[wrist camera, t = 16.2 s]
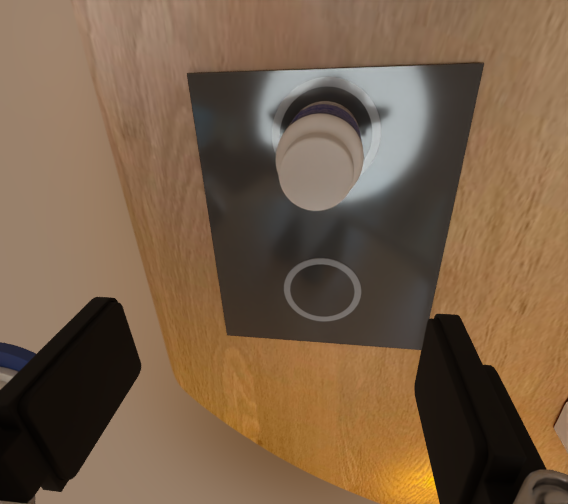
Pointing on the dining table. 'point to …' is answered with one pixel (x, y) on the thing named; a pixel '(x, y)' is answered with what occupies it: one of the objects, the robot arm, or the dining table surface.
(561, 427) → the cup
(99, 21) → the dining table surface
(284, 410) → the dining table surface
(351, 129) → the pill bottle
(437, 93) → the hob
